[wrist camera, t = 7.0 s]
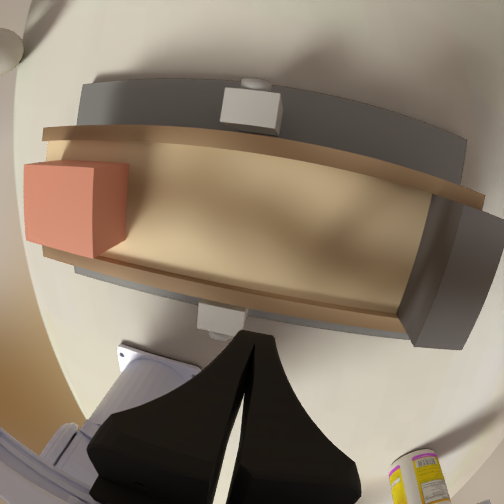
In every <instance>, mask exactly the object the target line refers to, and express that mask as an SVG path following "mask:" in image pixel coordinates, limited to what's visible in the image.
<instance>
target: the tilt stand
mask: <svg viewBox="0 0 504 504" xmlns="http://www.w3.org/2000/svg"><path fill="white" fill-rule="evenodd" d="M78 125H157V126H176V127H191V128H203V129H213V130H223V131H232V132H240V133H248V134H255V135H262V136H269V137H275V138H281V139H287V140H293V141H298V142H304V143H309V144H314V145H319V146H324V147H329V148H333V149H338V150H342V151H347V152H351V153H355V154H359V155H363V156H367V157H371V158H375V159H378V160H382V161H386V162H389V163H393V164H396V165H400V166H403V167H406V168H410V169H413V170H416V171H419V172H423V173H426V174H429V175H432V176H435V177H438V178H440V179H443V180H446V181H449V182H452V183H455V184H457V185H460V182H461V177H462V171H463V165H464V159H465V152H466V144H467V140H466V139H464V138H462V137H460V136H457V135H455V134H453V133H450V132H448V131H445V130H443V129H440V128H438V127H435V126H433V125H430V124H427V123H425V122H422V121H419V120H416V119H413V118H411V117H408V116H405V115H402V114H399V113H395V112H392V111H389V110H386V109H382V108H379V107H376V106H372V105H368V104H365V103H361V102H357V101H353V100H349V99H345V98H341V97H336V96H332V95H327V94H322V93H317V92H312V91H307V90H301V89H295V88H289V87H283V86H276V85H272V83H271V82H269V81H266V80H263V79H258V78H243V79H242V80H241V81H229V80H214V79H186V78H162V79H135V80H120V81H109V82H99V83H91V84H83V87H82V92H81V98H80V104H79V111H78V118H77V126H78ZM74 269H75V273H77V274H80V275H84V276H87V277H91V278H94V279H97V280H101V281H104V282H108V283H112V284H115V285H119V286H123V287H126V288H130V289H134V290H138V291H141V292H145V293H149V294H153V295H157V296H161V297H165V298H169V299H174V300H178V301H182V302H186V303H191V304H195V305H198V318H197V328H198V329H203V330H207V331H208V334H209V336H210V337H211V338H212V339H214V340H217V341H228V340H230V339H232V337H233V336H236V334H237V332H238V331H240V330H243V328H244V325H245V321H246V318H247V316H252V317H257V318H262V319H268V320H273V321H279V322H284V323H290V324H296V325H302V326H308V327H314V328H320V329H327V330H333V331H340V332H347V333H355V334H362V335H370V336H378V337H386V338H395V339H404V340H410V338H409V337H408V335H407V333H400V332H392V331H384V330H377V329H369V328H362V327H355V326H348V325H342V324H335V323H329V322H323V321H316V320H310V319H304V318H299V317H293V316H287V315H282V314H276V313H271V312H266V311H260V310H255V309H250V308H245V307H240V306H235V305H230V304H226V303H221V302H216V301H212V300H207V299H203V298H198V297H194V296H189V295H185V294H180V293H176V292H172V291H168V290H164V289H160V288H155V287H151V286H147V285H143V284H139V283H136V282H132V281H128V280H124V279H120V278H116V277H113V276H109V275H105V274H102V273H98V272H95V271H91V270H88V269H84V268H81V267H77V266H74Z"/></svg>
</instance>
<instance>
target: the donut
mask: <svg viewBox="0 0 504 504" xmlns="http://www.w3.org/2000/svg"><path fill="white" fill-rule="evenodd" d="M23 53H24V47H23V42H22V39H21V38H20V37H19V36H18V35H17V34H16V33H15V32H13V31H10V30H8V29H5V28H0V76H3V75H4V74H7V73H8V72H10V71H11V70H13V69H14V68H15V67H16V66H17V64H18V63H19V61H20V60H21V58H22V56H23Z"/></svg>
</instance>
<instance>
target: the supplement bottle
mask: <svg viewBox="0 0 504 504" xmlns="http://www.w3.org/2000/svg"><path fill="white" fill-rule="evenodd" d="M388 473H389V479H390V485H391V490H392V496H393V502H394V504H451V501H450V497H449V494H448V490H447V487H446V483H445V480H444V477H443V473H442V470H441V467H440V464H439V461H438V458H437V455H436V453H435V452H434V451H433V450H430V449H422V450H417V451H414V452H411V453H409V454H407V455H405V456H403V457H401V458H399V459H398V460H396V461H395V462H394V463H393V464H392V465H391V466H390V468H389V472H388Z"/></svg>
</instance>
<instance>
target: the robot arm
mask: <svg viewBox="0 0 504 504" xmlns="http://www.w3.org/2000/svg"><path fill="white" fill-rule="evenodd" d="M117 353H118V359H119V366H120V372H121V375H120V376H119V377H118V379H117V380H116V381H115V383H114V384H113V386H112V387H111V388H110V390H109V391H108V393H107V394H106V396H105V397H104V398H103V400H102V401H101V403H100V404H99V405H98V407H97V408H96V410H95V411H94V413H93V414H92V415H91V417H90V418H89V420H86V422H85V423H84V425H83V426H82V428H81V429H80V431H79V430H78V428H79V426H78V425H76V424H75V423H71V424H69V423H67V424H63V425H62V426H61V427H60V428H59V429H58V431H57V432H56V433H55V434H54V436H53V437H52V438H51V440H50V441H49V442H48V444H47V445H46V447H45V448H44V450H43V451H42V453H41V454H40V456H38V455H37V454H36V453H34V452H33V451H31V450H30V449H28V448H27V447H26V446H24V445H23V444H22V443H20V442H19V441H17V440H16V439H15V438H14V437H12V436H11V435H10V434H8V433H7V432H6V431H4V430H3V429H2V428H1V427H0V497H1V498H2V499H4V500H5V501H6V502H7V503H8V504H213V500H214V496H215V492H216V488H217V484H218V480H219V476H220V472H221V467H222V463H223V459H224V455H225V451H226V447H227V443H228V440H229V436H230V434H231V431H232V428H233V425H234V422H235V419H236V416H237V414H238V411H239V408H240V405H241V402H242V399H243V396H244V404H243V414H242V424H241V434H240V442H239V448H238V452H237V457H236V462H235V466H234V471H233V475H232V479H231V484H230V488H229V493H228V497H227V501H226V504H354V503H355V502H357V500H358V499H359V498H360V497H361V482H360V478H359V474H358V471H357V467H356V464H355V462H354V461H353V460H351V459H350V458H349V457H348V456H347V455H345V454H344V453H343V452H342V451H341V450H339V449H338V448H337V447H336V446H335V445H334V444H333V443H332V442H331V441H330V440H329V439H328V438H327V437H326V436H325V435H324V434H323V433H322V431H321V430H320V429H319V428H318V427H317V425H316V424H315V423H314V422H313V421H312V419H311V418H310V417H309V415H308V414H307V412H306V411H305V409H304V408H303V406H302V405H301V403H300V402H299V400H298V398H297V397H296V395H295V393H294V391H293V389H292V387H291V385H290V383H289V381H288V379H287V376H286V374H285V372H284V369H283V366H282V364H281V361H280V358H279V355H278V351H277V348H276V343H275V338H274V337H273V336H272V335H267V334H261V333H256V332H251V331H246V330H240V331H238V332H237V334H236V336H235V337H234V338H233V340H232V341H231V342H230V343H229V345H228V346H227V347H226V348H225V349H224V350H223V351H222V352H221V353H220V354H219V355H218V356H217V357H216V358H215V359H214V360H213V361H212V362H211V363H210V364H209V365H208V366H207V367H205V368H204V369H203V370H202V371H201V369H200V368H199V367H197V366H194V365H190V364H186V363H182V362H179V361H175V360H171V359H168V358H164V357H161V356H158V355H154V354H151V353H148V352H144V351H141V350H138V349H135V348H132V347H129V346H126V345H123V344H120V345H119V346H118V347H117ZM122 353H123V354H122ZM194 375H195V376H194ZM244 393H245V394H244ZM477 504H491V503H490V500H485V501H483V502H480V503H477Z"/></svg>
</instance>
